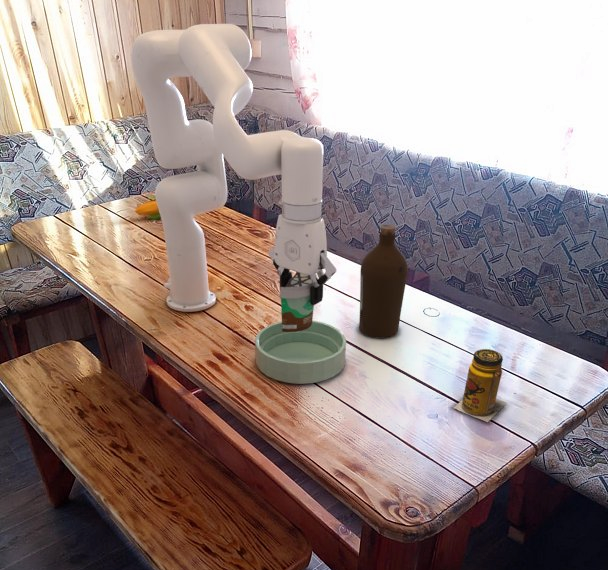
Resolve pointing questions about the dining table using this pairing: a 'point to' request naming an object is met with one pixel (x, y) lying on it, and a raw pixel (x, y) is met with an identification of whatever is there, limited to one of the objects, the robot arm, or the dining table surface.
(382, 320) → the olive oil
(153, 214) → the corn
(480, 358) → the condiment
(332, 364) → the bowl
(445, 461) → the dining table surface
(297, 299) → the food container
